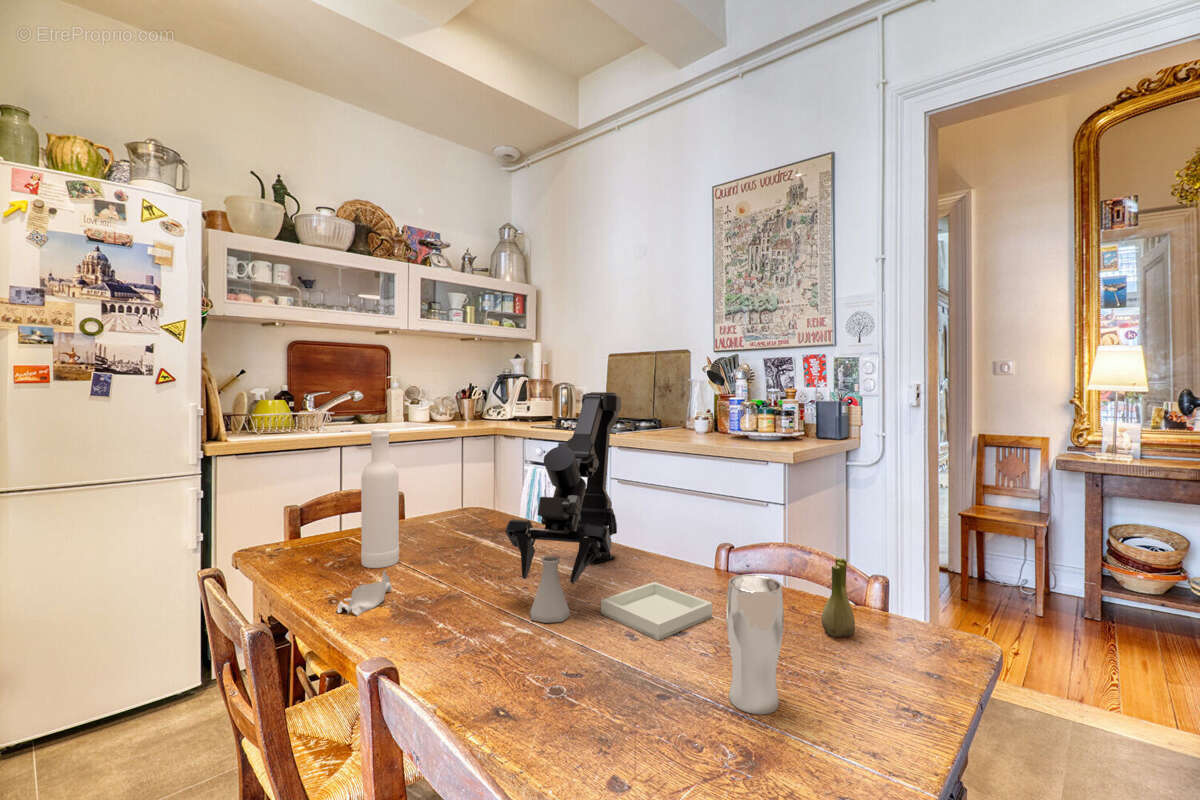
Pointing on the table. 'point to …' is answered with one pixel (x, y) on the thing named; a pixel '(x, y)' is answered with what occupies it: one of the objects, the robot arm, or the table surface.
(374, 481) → the bottle
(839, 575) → the fennel bulb
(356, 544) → the table surface
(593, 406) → the robot arm
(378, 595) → the wrapped candy
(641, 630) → the tray
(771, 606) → the beer glass
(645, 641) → the table surface
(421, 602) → the table surface
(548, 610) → the flask
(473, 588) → the table surface
